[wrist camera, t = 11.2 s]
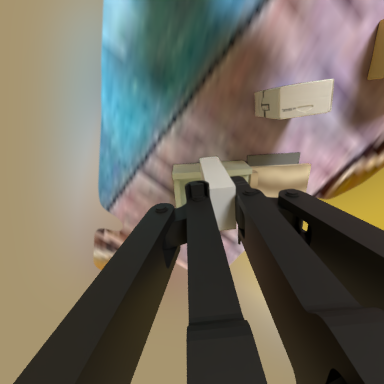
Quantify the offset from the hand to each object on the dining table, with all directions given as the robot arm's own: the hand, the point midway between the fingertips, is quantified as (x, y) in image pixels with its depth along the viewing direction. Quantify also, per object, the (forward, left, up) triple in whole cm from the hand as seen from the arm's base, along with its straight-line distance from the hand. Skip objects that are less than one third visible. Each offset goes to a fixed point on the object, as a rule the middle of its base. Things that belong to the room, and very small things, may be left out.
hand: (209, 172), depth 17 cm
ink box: (-5, +17, -28) cm, 34 cm away
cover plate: (+13, +19, -28) cm, 36 cm away
